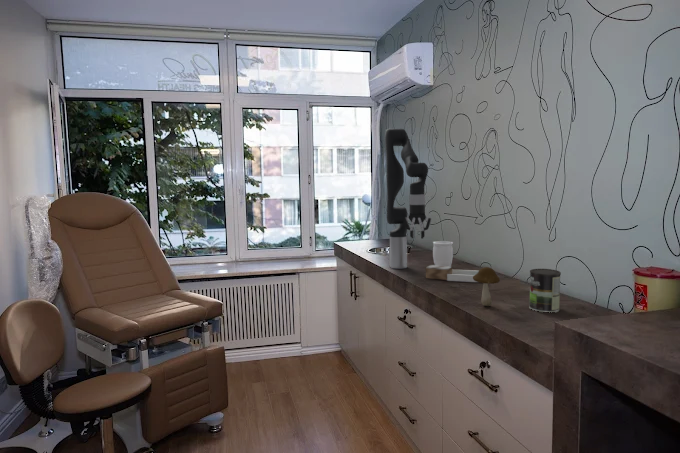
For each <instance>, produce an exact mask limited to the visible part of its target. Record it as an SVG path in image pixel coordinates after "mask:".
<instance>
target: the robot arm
mask: <svg viewBox="0 0 680 453" xmlns="http://www.w3.org/2000/svg"><path fill="white" fill-rule="evenodd" d="M384 142H385V153H386V154H385V156H386V187H387V188H386V190H387V195H386V197H387V198H386V222H387V224H388V225H398V226H397V228H394V229H392V230H390V231H389V249H388V267H390V269H395V270H396V269H397V270H398V269H400V270H401V269H407V267H408V248H407V246H408V242H407V239H408V236H407V235H408V234H407V233H408V231H409V237H410V238H411V239H414V238H415V237H414V234H415V233H414V232H415V231H414V228H415V226H416V225H419V226H420V229H421V231H420V236H421V240H422V239H424V238H425V234H426V232H425V231H427V230H429V229H430V224H431V222H432V218H431V217H428V216H426V197H425V196H426V195H425V185H426V180H427V178H428V173H429V166H428V164H427V163H425V162H419V157H418V156H417V154H416V153H415V151H414V149H413V147H412V143H411V141H410V138H409V136H408V133H407V131H406V129H404V128H387V129H386V130H385V133H384ZM394 147H402V149H401V151H400V158H401V160H402V162H403V164H404V165H405V171H404V168H403V166H402V164H401V163H400V161H399V160H398V158H397V156H396V153H395V150H394V149H395V148H394ZM405 172H406V175H407V177H409V178H418V179H417V181H414V182H411V183H410V185H409V214H408V210H407V208H406V207H405V206H396V207H395V200H396V198H397V195H398V194H399V192H400V191H401V189H402V187H403V185H404V183H405V175H404V174H405ZM409 221H410V222H411V224H410V225H409ZM425 221H426V226H424V222H425Z"/></svg>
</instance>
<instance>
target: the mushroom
mask: <svg viewBox="0 0 680 453" xmlns="http://www.w3.org/2000/svg"><path fill="white" fill-rule="evenodd" d="M478 271H479V272H478V273H477V274H476V275H474V276H473V279H474V281H477V282H476V283H481V284H483V285H482V292H481V300H480V301H481V305H482V306H483V307H490V306H491V305H492V302H493V301H492V300H493V299H492V297H491V293H490V289H489V285H492V284H493V285H494V284H498V283H499V282H500V281H501V279H500V277H499V276H498V274H497V273H496V271H495V270H494V269H493V268H491V267H489V266H488V267H487V266H485V267H481V268H480V269H479V270H478Z"/></svg>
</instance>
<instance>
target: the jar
mask: <svg viewBox="0 0 680 453" xmlns="http://www.w3.org/2000/svg"><path fill="white" fill-rule="evenodd" d="M432 244H433V248H432V258H433V263H434V264H433V265H438V266H451V267H452V263H453V256H454V249H453V244H454V242H453V241H450V240H437V241H435V240H434V241H432Z"/></svg>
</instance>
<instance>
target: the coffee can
mask: <svg viewBox="0 0 680 453" xmlns="http://www.w3.org/2000/svg"><path fill="white" fill-rule="evenodd" d="M561 274H562V272H561V271H559V270H556V269H551V268H533V269H530V270H529V306H528V308H529V309H530V310H531V309H532V310H531V311H534V310H535V311H534V312H537V311H539V312H538V313H543V312H549V313H548V314H553V313H552V312H555V313H558V312H559V311H560V295H561V293H560V291H561V290H560V289H561ZM550 312H551V313H550Z"/></svg>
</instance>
